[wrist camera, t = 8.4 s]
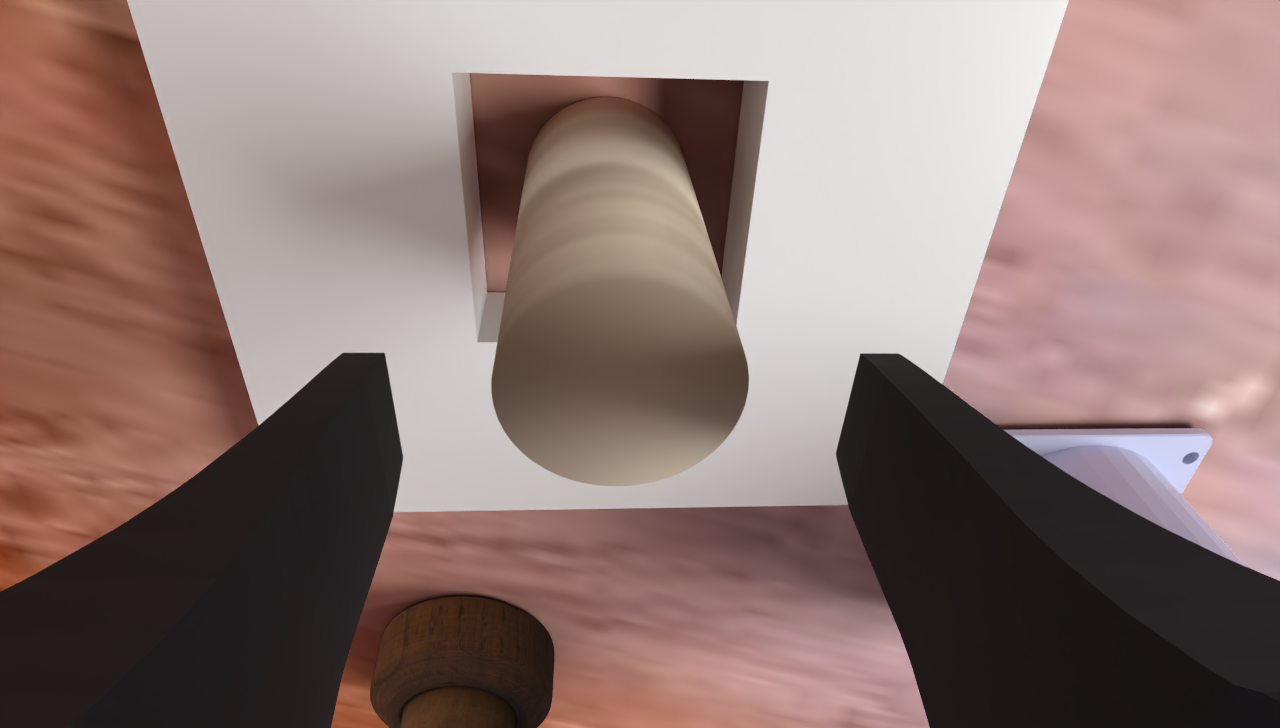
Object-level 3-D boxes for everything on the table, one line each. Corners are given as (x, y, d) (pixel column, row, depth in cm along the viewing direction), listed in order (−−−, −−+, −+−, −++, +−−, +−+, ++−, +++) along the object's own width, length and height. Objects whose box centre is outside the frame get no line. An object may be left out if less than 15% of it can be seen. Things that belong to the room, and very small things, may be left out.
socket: (876, 449, 25) (903, 504, 23) (311, 454, 24) (285, 514, 22) (1077, -253, 15) (1156, -266, 13) (106, -314, 14) (21, -340, 12)
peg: (679, 250, 21) (733, 485, 13) (529, 249, 20) (499, 488, 13) (691, 98, 18) (764, 279, 11) (522, 94, 18) (481, 277, 11)
